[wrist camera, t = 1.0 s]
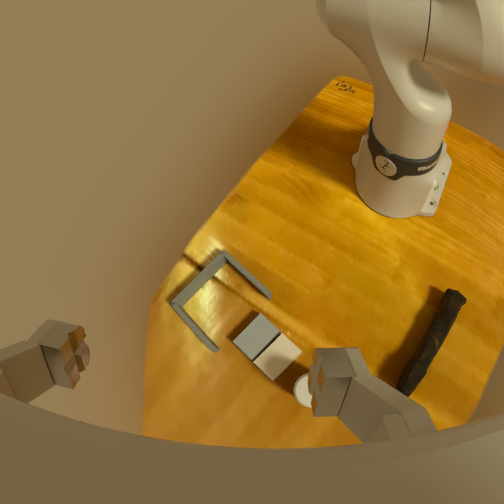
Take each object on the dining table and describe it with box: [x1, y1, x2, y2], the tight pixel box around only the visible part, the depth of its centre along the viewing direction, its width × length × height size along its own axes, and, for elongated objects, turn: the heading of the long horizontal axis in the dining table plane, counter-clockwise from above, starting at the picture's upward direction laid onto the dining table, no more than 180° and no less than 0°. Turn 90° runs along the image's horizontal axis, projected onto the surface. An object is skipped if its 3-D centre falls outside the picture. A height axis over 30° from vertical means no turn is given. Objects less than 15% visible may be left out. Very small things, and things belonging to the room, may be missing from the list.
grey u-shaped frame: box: [169, 250, 273, 353], centre depth 50 cm, size 13×11×2 cm
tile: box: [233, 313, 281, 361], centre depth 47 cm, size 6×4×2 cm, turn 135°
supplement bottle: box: [294, 373, 312, 407], centre depth 39 cm, size 5×5×8 cm
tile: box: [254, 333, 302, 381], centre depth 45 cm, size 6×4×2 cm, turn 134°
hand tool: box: [396, 289, 466, 397], centre depth 40 cm, size 19×4×5 cm, turn 139°
